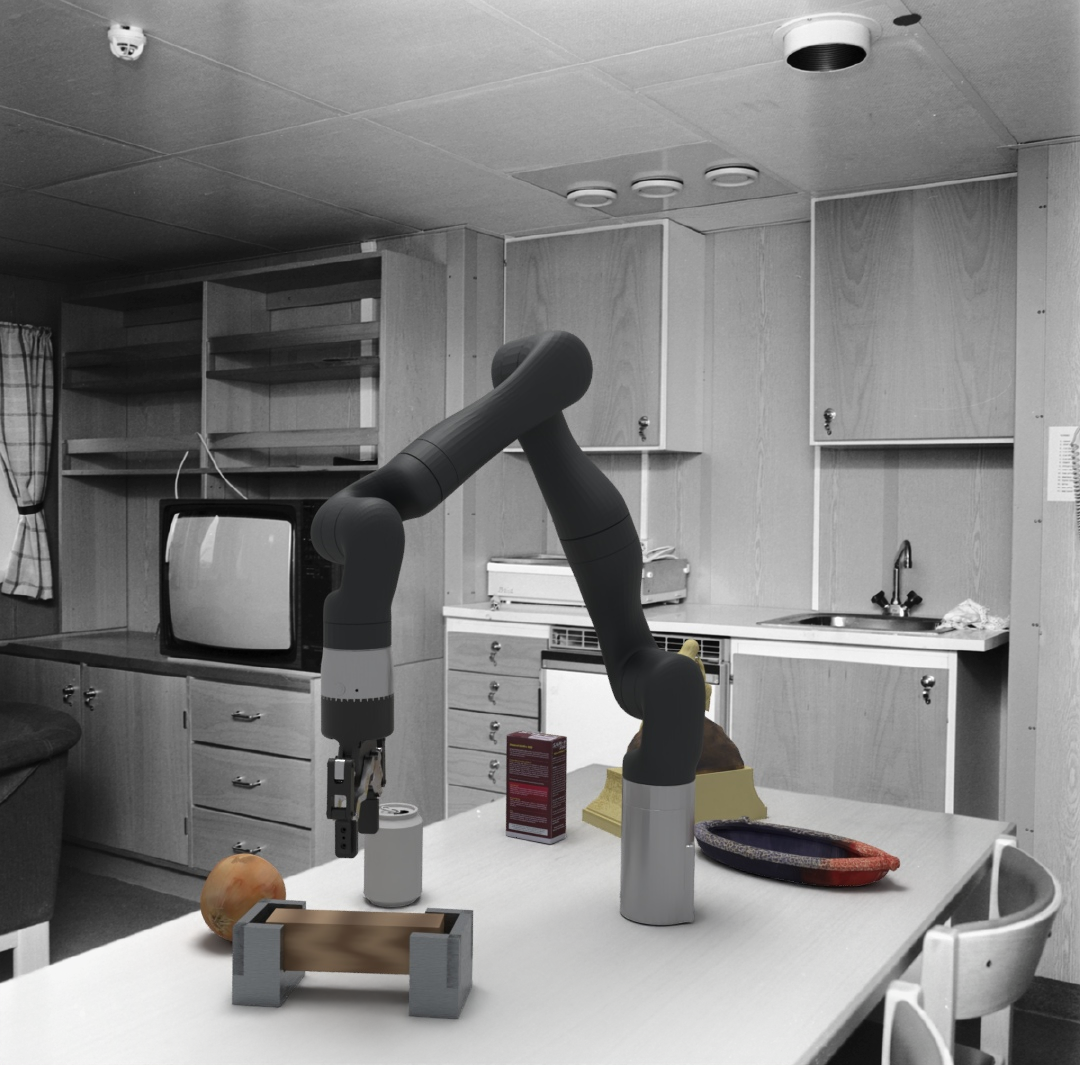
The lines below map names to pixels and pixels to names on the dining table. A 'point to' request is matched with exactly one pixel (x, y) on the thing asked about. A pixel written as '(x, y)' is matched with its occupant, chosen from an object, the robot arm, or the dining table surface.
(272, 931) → the cup brackets
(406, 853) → the can
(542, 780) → the supplement box
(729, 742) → the decorative clock
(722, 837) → the dish
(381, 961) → the rail
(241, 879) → the onion
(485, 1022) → the dining table surface
